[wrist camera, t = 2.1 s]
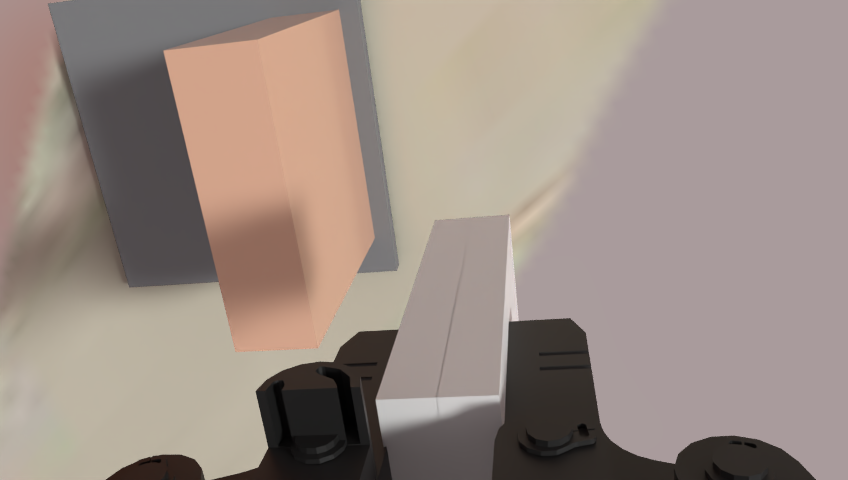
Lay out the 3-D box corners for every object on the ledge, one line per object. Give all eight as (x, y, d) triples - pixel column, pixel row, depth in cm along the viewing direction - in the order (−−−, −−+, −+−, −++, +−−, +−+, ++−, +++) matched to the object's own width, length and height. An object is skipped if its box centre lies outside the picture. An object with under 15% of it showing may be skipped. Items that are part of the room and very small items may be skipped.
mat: (354, -37, 28) (351, -37, 27) (399, 264, 32) (396, 270, 31) (56, 2, 30) (47, 3, 29) (135, 281, 34) (129, 287, 33)
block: (339, 9, 28) (257, 39, 19) (374, 238, 31) (318, 348, 23) (268, 17, 28) (159, 51, 20) (311, 242, 31) (232, 351, 23)
